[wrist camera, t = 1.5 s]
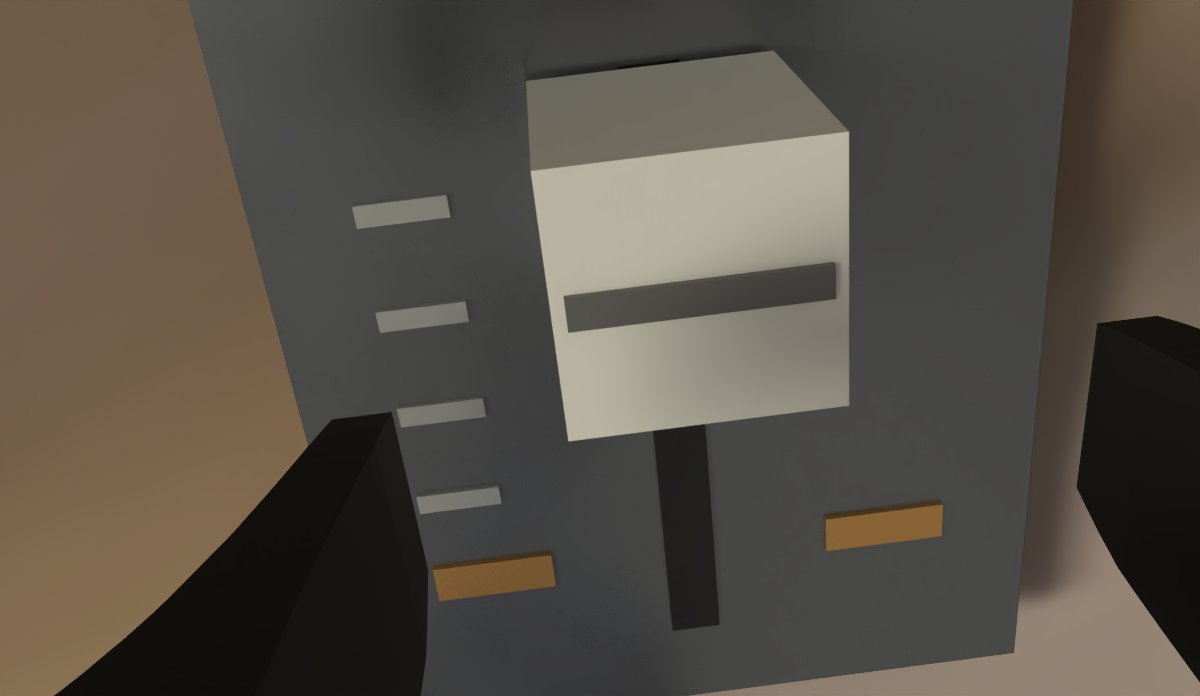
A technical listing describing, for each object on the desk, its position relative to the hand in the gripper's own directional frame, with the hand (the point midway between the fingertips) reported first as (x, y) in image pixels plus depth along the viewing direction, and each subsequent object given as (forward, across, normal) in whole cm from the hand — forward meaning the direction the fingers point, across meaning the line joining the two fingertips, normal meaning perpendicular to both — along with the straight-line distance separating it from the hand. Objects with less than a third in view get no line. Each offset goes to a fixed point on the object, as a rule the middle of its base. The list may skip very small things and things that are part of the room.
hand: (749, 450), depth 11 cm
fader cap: (+8, 0, 0) cm, 8 cm away
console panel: (+10, 0, +4) cm, 11 cm away
